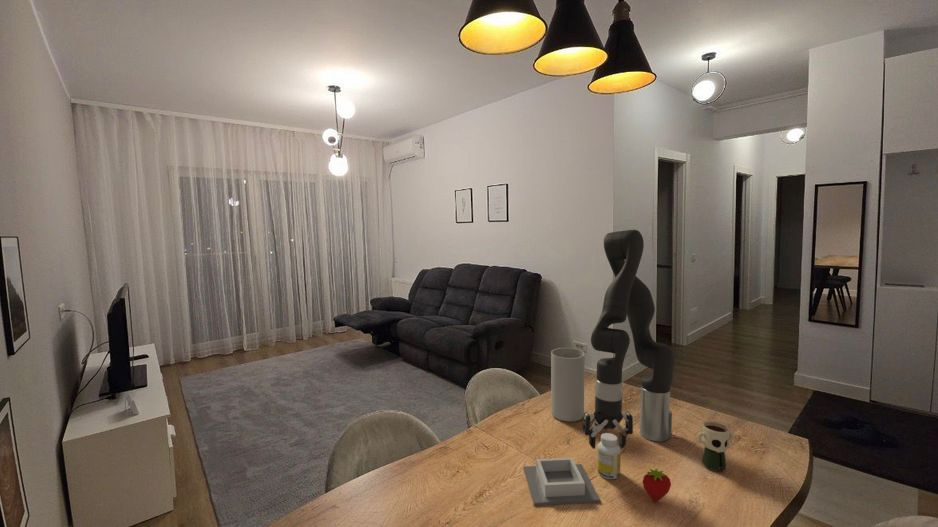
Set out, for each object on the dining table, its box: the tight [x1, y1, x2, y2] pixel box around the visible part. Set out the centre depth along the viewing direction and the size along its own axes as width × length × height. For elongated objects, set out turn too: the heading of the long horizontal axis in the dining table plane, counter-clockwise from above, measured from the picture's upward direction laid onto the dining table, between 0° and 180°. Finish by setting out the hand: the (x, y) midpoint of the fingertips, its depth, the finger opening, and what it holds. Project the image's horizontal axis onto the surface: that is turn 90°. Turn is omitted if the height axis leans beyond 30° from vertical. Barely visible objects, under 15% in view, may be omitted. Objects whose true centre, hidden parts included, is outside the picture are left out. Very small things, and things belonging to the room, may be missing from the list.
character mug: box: [697, 420, 734, 472], centre depth 122 cm, size 11×7×13 cm, turn 94°
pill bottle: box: [597, 432, 622, 480], centre depth 120 cm, size 6×6×12 cm
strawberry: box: [642, 467, 672, 502], centre depth 108 cm, size 6×8×10 cm
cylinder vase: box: [550, 347, 586, 423], centre depth 156 cm, size 12×12×25 cm
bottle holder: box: [523, 457, 601, 506], centre depth 116 cm, size 18×16×4 cm
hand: (607, 446), depth 120 cm, fingers open, 8 cm apart
